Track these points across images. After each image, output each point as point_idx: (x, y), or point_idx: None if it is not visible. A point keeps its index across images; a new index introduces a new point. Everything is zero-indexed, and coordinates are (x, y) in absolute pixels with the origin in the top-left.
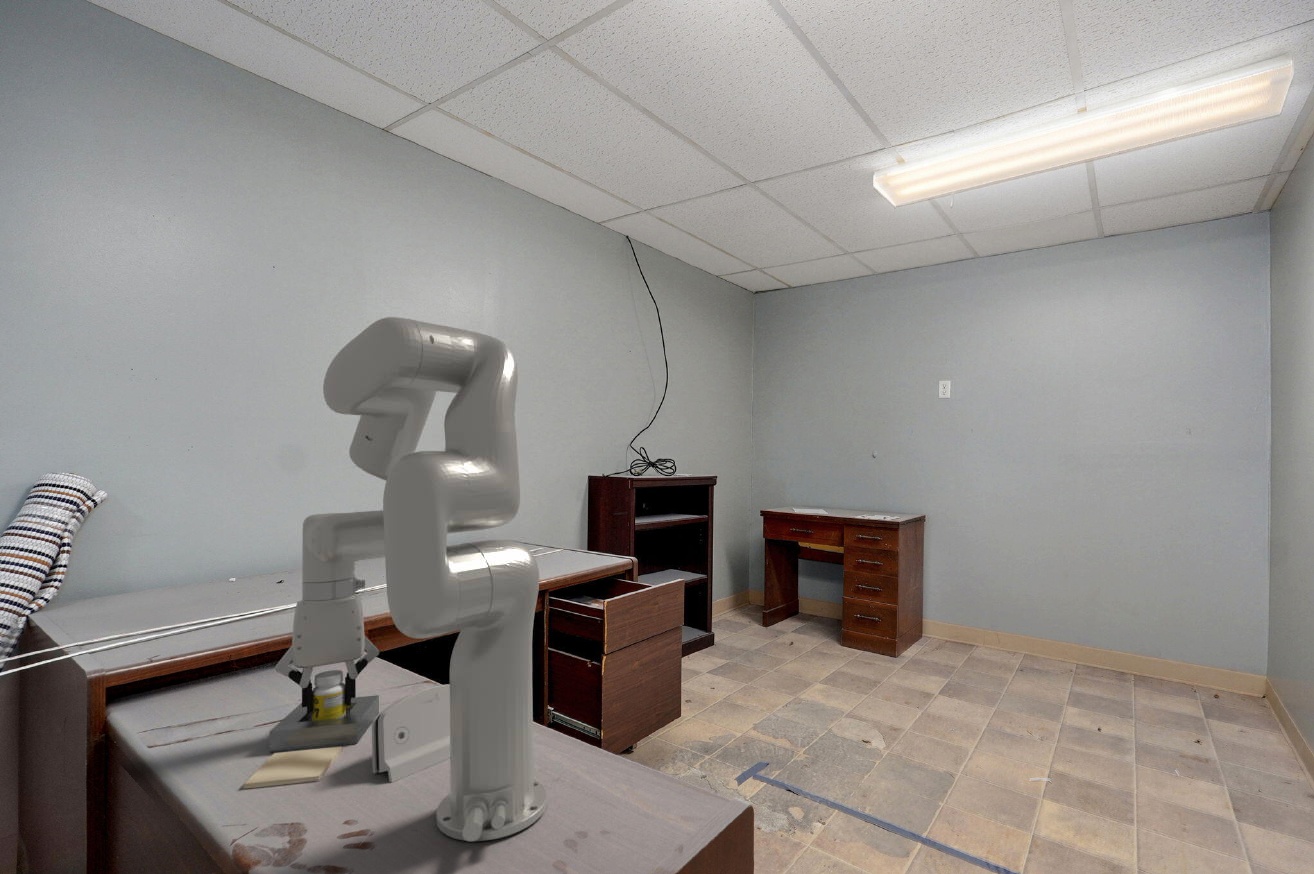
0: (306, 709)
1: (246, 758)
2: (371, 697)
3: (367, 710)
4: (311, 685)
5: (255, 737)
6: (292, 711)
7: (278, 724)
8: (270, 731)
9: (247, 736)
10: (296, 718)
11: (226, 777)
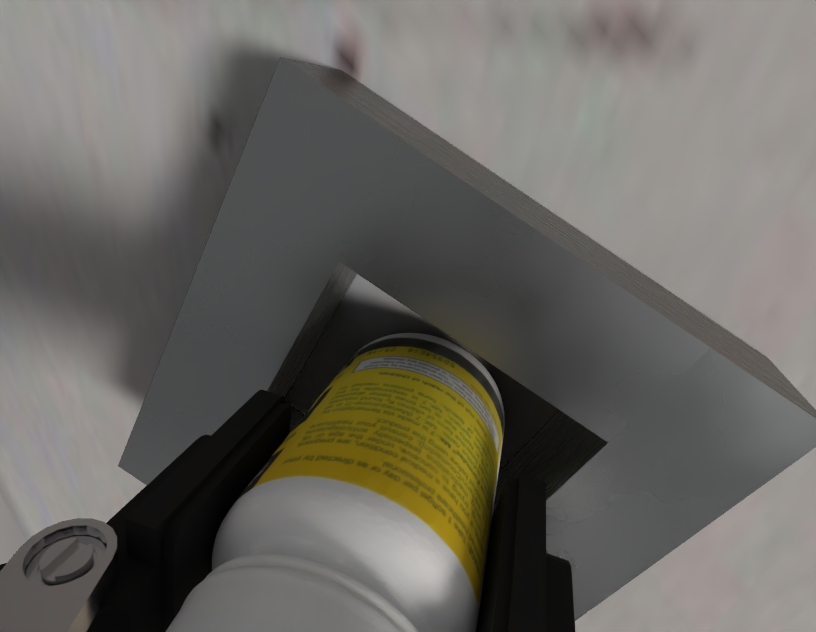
0: (289, 286)
1: (117, 392)
2: (755, 429)
3: (589, 607)
4: (168, 605)
5: (119, 164)
6: (209, 249)
7: (146, 413)
8: (121, 465)
9: (82, 111)
10: (226, 401)
11: (84, 488)
